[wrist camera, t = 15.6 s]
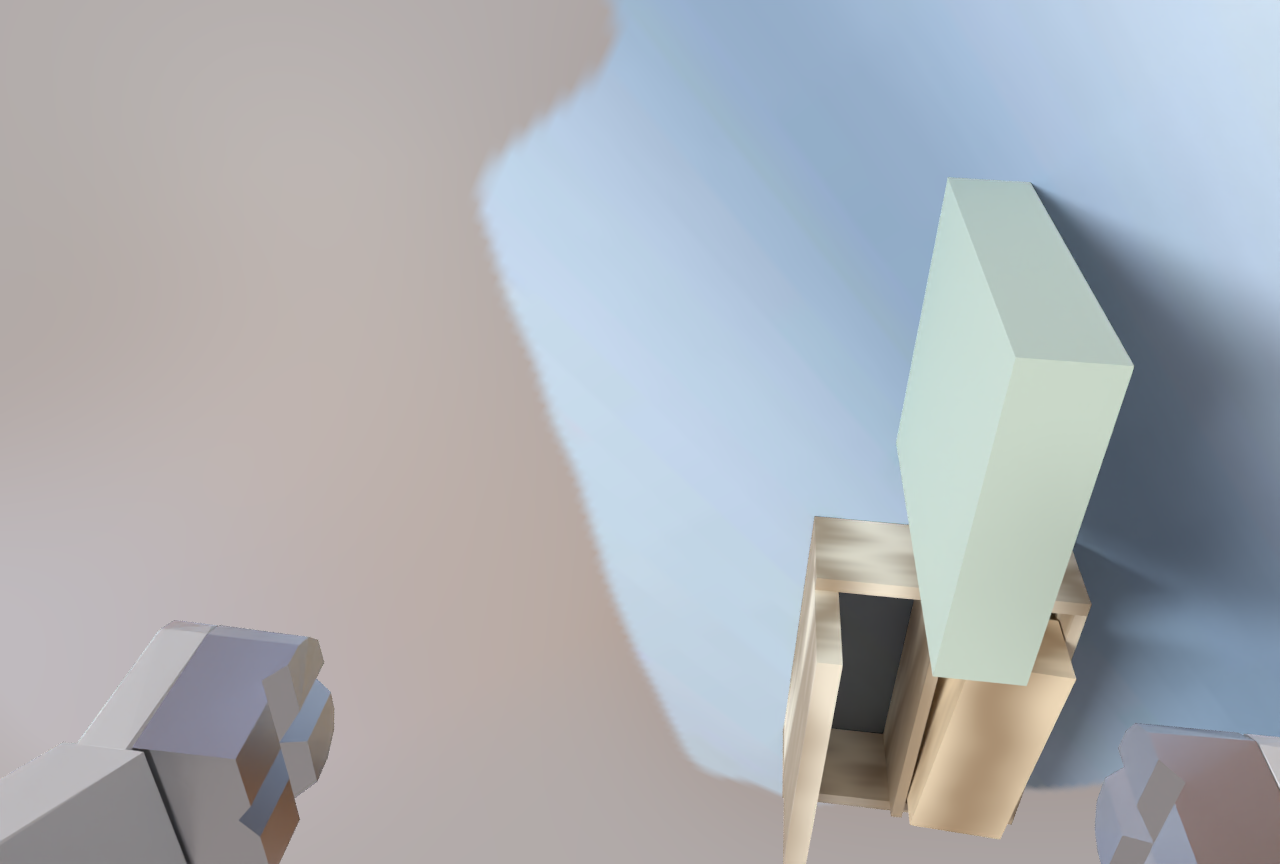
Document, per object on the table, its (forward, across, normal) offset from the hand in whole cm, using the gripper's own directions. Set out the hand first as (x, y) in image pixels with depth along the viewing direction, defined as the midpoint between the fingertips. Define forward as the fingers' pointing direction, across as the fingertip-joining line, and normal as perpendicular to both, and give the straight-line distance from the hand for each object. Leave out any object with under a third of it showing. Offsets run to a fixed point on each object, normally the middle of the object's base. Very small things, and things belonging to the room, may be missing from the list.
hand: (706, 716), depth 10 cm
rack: (+37, -12, +35) cm, 52 cm away
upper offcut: (+33, -15, +35) cm, 51 cm away
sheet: (+37, -10, +14) cm, 41 cm away
